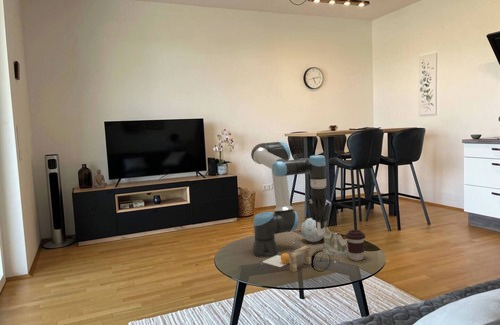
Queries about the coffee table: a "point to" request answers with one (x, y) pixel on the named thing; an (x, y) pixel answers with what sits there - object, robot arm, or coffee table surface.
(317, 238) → the puzzle ball
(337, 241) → the ceramic cottage
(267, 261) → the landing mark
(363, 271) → the coffee table surface
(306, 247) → the bridge
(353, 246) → the coffee cup
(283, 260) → the ball
